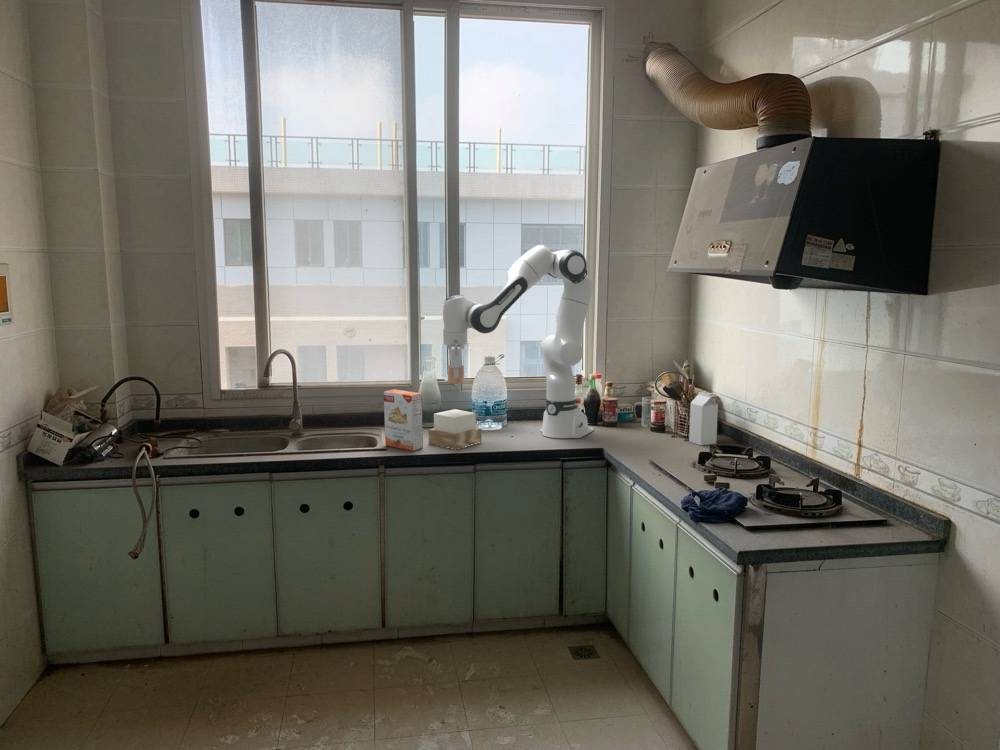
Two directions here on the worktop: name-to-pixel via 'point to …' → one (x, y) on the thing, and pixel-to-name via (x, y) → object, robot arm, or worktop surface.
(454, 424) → the tower top
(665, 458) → the worktop surface
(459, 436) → the tower base
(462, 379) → the pink cylinder
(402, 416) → the cracker box
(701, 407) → the milk carton
